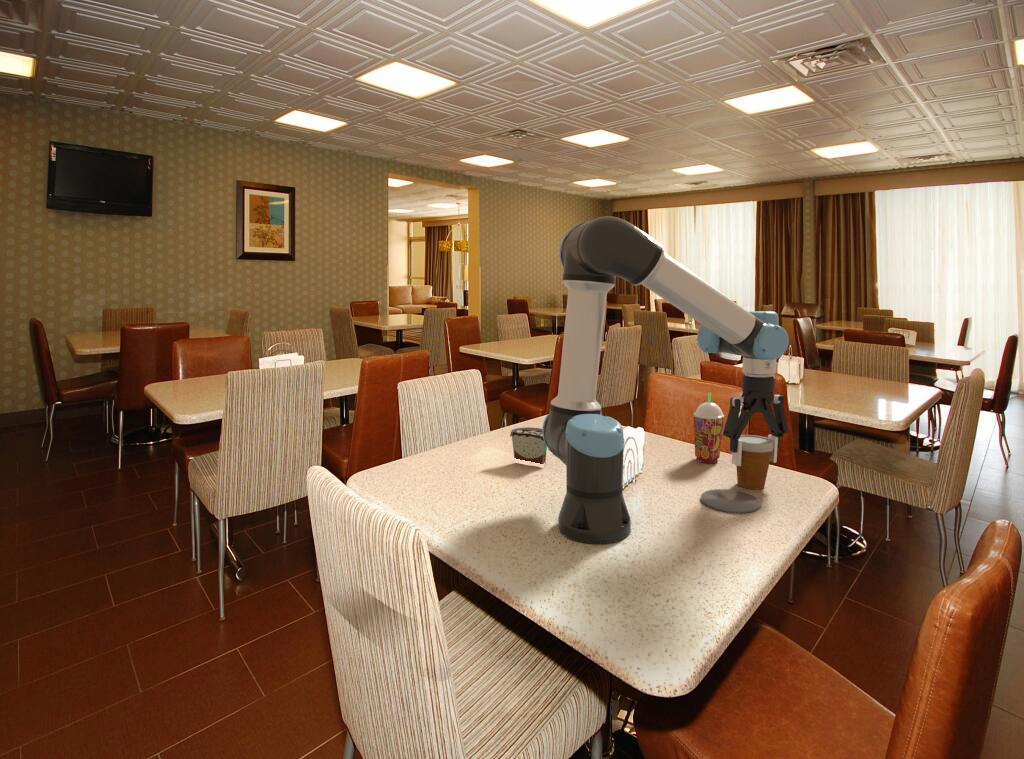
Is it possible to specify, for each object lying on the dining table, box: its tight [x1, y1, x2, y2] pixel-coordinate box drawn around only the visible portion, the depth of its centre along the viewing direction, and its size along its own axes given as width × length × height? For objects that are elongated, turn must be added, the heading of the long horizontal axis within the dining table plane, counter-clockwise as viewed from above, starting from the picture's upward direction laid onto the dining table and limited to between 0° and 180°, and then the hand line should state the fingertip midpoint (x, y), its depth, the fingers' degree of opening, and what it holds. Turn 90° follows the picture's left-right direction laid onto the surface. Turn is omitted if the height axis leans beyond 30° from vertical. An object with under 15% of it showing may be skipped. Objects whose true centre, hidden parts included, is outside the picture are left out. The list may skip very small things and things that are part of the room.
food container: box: [509, 426, 548, 464], centre depth 162 cm, size 12×6×10 cm, turn 58°
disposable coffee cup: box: [735, 434, 774, 490], centre depth 141 cm, size 10×10×12 cm
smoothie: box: [693, 392, 725, 464], centre depth 161 cm, size 8×8×20 cm
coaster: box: [700, 488, 761, 514], centre depth 131 cm, size 13×13×1 cm
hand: (753, 462), depth 140 cm, fingers closed on disposable coffee cup, 9 cm apart
